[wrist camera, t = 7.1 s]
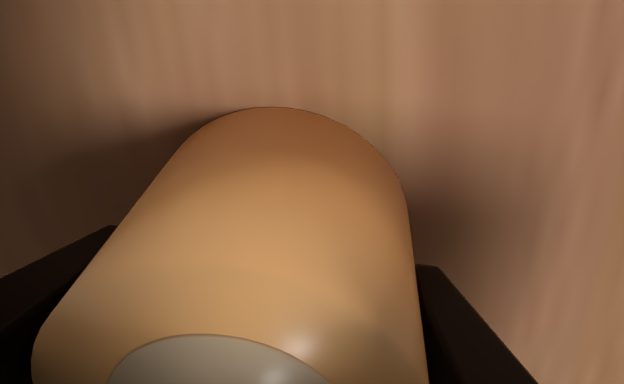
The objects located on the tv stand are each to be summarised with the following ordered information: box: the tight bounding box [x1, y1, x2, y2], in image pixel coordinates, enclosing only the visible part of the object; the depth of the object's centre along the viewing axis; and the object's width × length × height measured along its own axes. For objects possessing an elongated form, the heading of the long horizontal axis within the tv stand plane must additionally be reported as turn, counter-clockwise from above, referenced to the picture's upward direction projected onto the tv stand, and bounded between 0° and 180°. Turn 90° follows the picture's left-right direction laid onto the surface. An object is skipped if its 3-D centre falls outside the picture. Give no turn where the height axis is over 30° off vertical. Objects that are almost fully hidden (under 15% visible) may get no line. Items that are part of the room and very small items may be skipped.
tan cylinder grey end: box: [31, 107, 429, 384], centre depth 8 cm, size 5×5×5 cm
